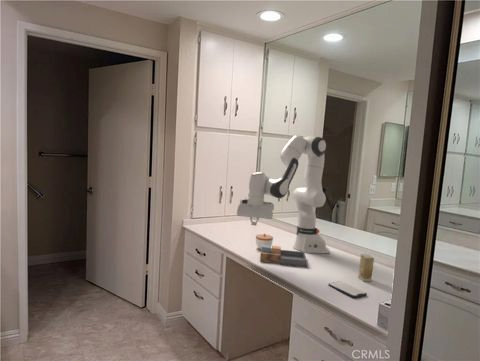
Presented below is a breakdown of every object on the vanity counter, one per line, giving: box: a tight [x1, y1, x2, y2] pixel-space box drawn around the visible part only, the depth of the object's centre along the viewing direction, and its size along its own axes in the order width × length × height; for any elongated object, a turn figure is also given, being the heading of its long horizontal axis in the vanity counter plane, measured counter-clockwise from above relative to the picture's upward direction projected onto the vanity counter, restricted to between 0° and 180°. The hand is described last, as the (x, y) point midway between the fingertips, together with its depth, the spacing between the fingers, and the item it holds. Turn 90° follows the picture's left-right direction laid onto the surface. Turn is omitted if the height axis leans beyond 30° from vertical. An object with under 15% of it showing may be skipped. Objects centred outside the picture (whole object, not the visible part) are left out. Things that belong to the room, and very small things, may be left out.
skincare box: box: [357, 253, 375, 283], centre depth 170 cm, size 6×4×12 cm
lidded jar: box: [255, 233, 274, 250], centre depth 213 cm, size 11×11×9 cm
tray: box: [279, 249, 308, 268], centre depth 193 cm, size 14×16×4 cm
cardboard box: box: [259, 247, 281, 264], centre depth 194 cm, size 11×12×4 cm
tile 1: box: [271, 245, 282, 253], centre depth 193 cm, size 5×5×2 cm
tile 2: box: [262, 245, 272, 252], centre depth 194 cm, size 5×5×2 cm
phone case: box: [328, 281, 368, 299], centre depth 155 cm, size 9×2×16 cm
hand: (253, 225), depth 193 cm, fingers closed
